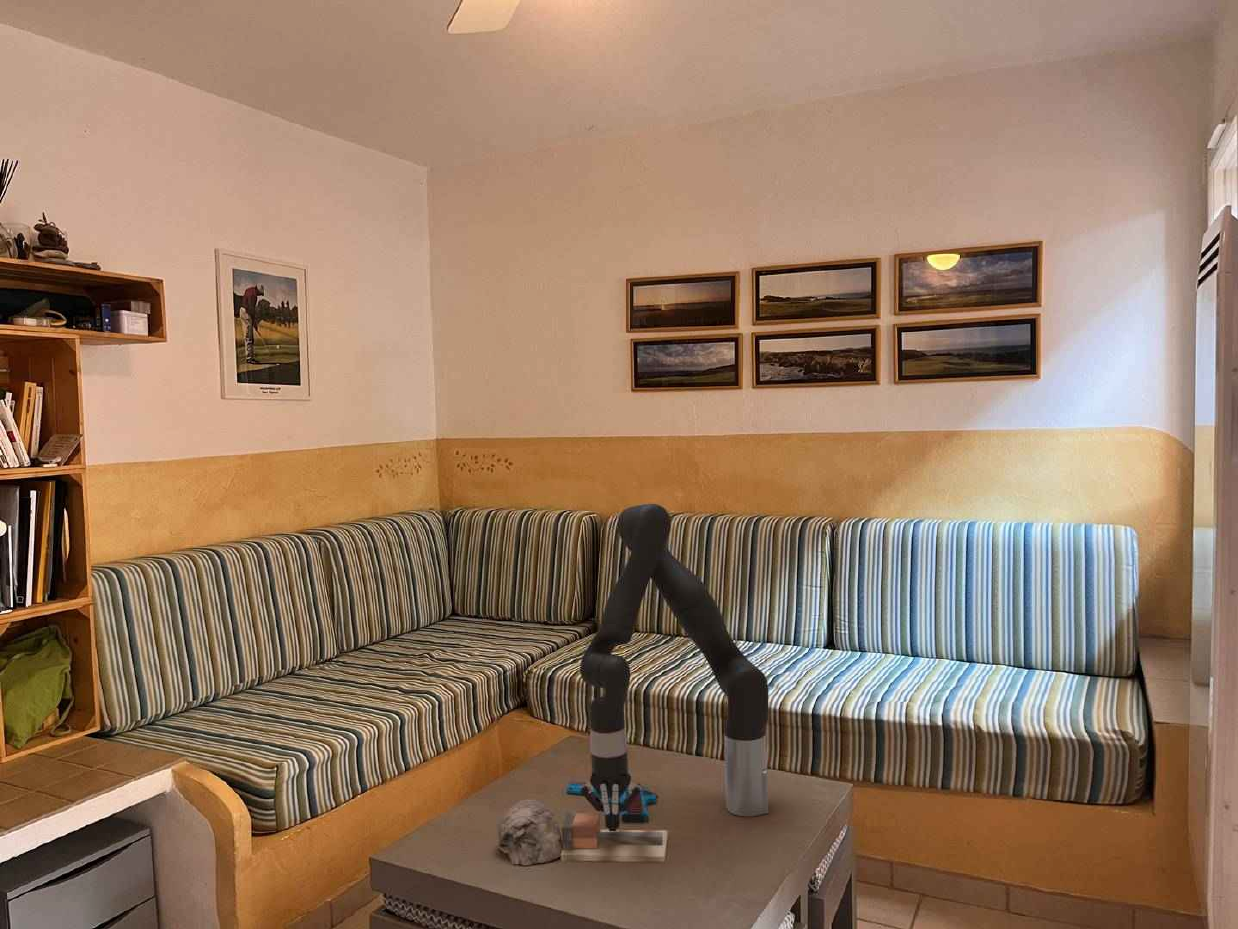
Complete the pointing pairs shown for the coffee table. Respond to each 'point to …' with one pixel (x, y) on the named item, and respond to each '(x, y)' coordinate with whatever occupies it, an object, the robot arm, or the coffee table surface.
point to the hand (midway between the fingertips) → (612, 829)
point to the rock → (530, 833)
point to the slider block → (586, 830)
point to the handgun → (634, 811)
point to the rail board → (616, 845)
